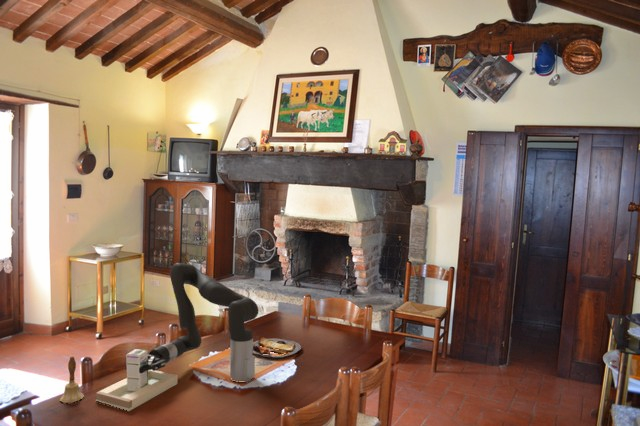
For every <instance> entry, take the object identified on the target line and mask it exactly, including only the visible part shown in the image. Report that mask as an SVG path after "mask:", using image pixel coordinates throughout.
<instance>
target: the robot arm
mask: <svg viewBox="0 0 640 426" xmlns="http://www.w3.org/2000/svg"><path fill="white" fill-rule="evenodd" d="M169 276H170V281H171V285H172V290H173V294H174V297H175V300H176V301H175V302H176V304H177V312H178V322H179V328H180V329H181V330H186V331H187V334H184V335H182V336H179V337H177V338H176V339H175V340H172V341H170V342H167V343H163V344H162V345H160V346H157V347H155V348H153V349H151V350H150V351H149V353H148V365H147V364H146V365H144V366H142V367H140V368H139V373H143V372H145V371H147V370H148V371H150V370H151V369H152V371H155V370H156V371H159V369H162V368H164V367H165V366H166V364H168V363H171V361H174V360H175V359H176V358H178V357H181V356H182V355H183V354H184V353H186V352H187V353H188V352H189V351H193V350H196V349H198V348H200V347H201V344H202V335H201V333H200V330H199V327H198V326H197V322H196V314H195V313H196V312H195V308H194V305H193V303H192V301H191V299H190V298H189V296H188V294H187V291H186V289H185V285H189V286H192V287H194V288H196V289H197V290H198V293H199V295H200V297H202V298H203V299H205V300H206V301H208V302H209V303H210V304H213V305H218V306H220V307H221V306H222V307H227V308H228V309H227V312H228V313H227V314H228V315H227V316H228V317H227V318H228V332H229V335H230V336H229V337H230V341H229V343H230V345H229V346H230V348H229V349H230V350H229V351H230V354H229V355H230V362H229V363H230V368H229V371H230V372H229V374H230V375H229V378H230V377H231V378H232V380H235V381H238V382H239V381H245V382H246V384H248V383H249V382H251V381H252V380H253V379H254V378H253V377H254V376H255V371H256V370H255V368H256V365H255V364H256V356H255V355H254V353H253V342H254V333H253V330H252V329H250V328H246V327H245V323H246V322H250V321H252V320H254V319H256V317H257V316H258V315H259V307H258V305H257V303H256V302H255V301H254V300H253V299H252V298H250V297H247V296H245V295H243V294H240V293H238V292H236V291H235V290H232V289H231V288H230V287H228V286H226V285H224V284H222V283H221V282H219V281H218V280H216V279H214V278H212V277H210V276H208V275H206V274H204V273H203V272H202V271H201V270H200V269H198V268H197V267H196V266H194V265H193V264H188V263H182V262H176V263H174V264H173V265H172V266H171V268H170V275H169ZM124 370H125V371H127V363H126V364H125V367H124ZM252 378H253V379H252ZM251 379H252V380H251Z"/></svg>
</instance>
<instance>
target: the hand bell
mask: <svg viewBox="0 0 640 426" xmlns="http://www.w3.org/2000/svg"><path fill="white" fill-rule="evenodd" d="M67 366H68V372H69V382H68V383H66V385H65V386H64V392H63V394H62V396H61V397H60V398H59V402H60V401H62V402H74V401H77V400H80V399H82V398H83V397H84V398H85V395H84V394H83V393H82V392H81V390H80V386H79V383H78V382H75V380H76V379H75V371H76V368H77V367H76V366H77V363H76V360H75V357H74V356H70V358H69V361H68V364H67ZM84 398H83V399H84ZM83 399H82V400H83Z"/></svg>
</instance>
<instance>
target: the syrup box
mask: <svg viewBox="0 0 640 426" xmlns="http://www.w3.org/2000/svg"><path fill="white" fill-rule="evenodd" d="M148 354H149V353H148V350H147V349H141V348H140V349H138V348H137V349H136V348H134V349H133V350H131V351H129V353H127V354H126V355H125V356H126V358H125V360H126V364H127V370H126V378H127V390H129V391H137V390H139V389H141V388H142V387H144V386H146V385H148V370H147V371H145V372H143V373H139V368H140V367H142V366H144V365H146V364H147V365H148Z"/></svg>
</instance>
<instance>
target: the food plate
mask: <svg viewBox="0 0 640 426" xmlns="http://www.w3.org/2000/svg"><path fill="white" fill-rule="evenodd" d="M260 346H262V347H260ZM273 348H275V349H279V350H274V349H273ZM301 349H302V346H301V345H300V343H298V342H296V341H294V340H291V339H286V338H275V337H274V338H266V337H261V338H260V340H259V339H258V340H255V341H253V354H255V355H259V356H261V357H263V358H284V357H288V356H291V355H294V354H296V353H298V352H299V351H300V350H301ZM270 352H274V353H278V355H270V356H268V355H263V354H270ZM284 353H288V354H286V355H280V354H284Z"/></svg>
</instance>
